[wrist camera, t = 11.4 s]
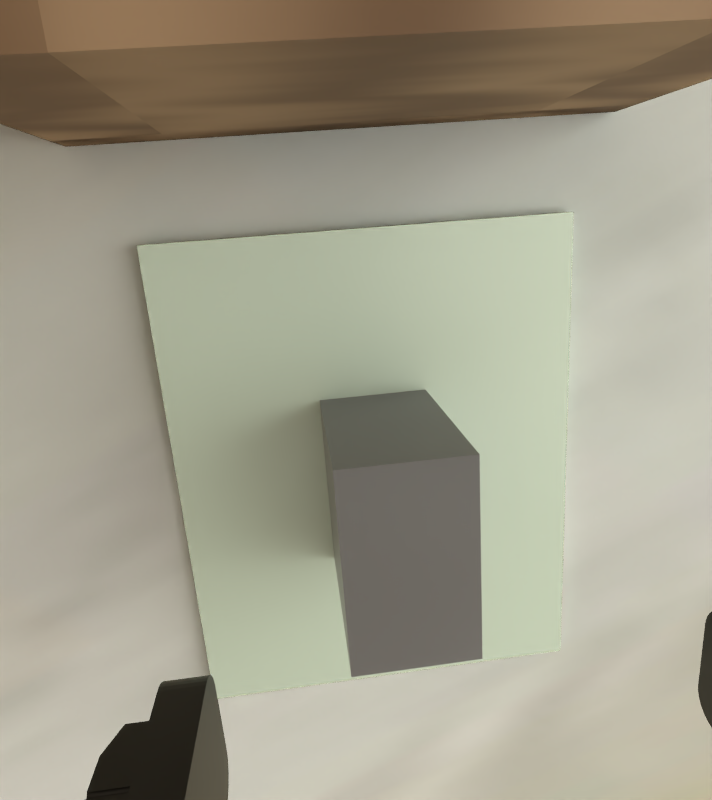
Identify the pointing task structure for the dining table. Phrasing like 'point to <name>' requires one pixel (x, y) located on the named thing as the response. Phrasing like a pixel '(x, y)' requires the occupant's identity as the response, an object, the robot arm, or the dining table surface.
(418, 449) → the lid
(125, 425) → the dining table surface
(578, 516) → the dining table surface
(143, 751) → the robot arm
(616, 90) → the box
